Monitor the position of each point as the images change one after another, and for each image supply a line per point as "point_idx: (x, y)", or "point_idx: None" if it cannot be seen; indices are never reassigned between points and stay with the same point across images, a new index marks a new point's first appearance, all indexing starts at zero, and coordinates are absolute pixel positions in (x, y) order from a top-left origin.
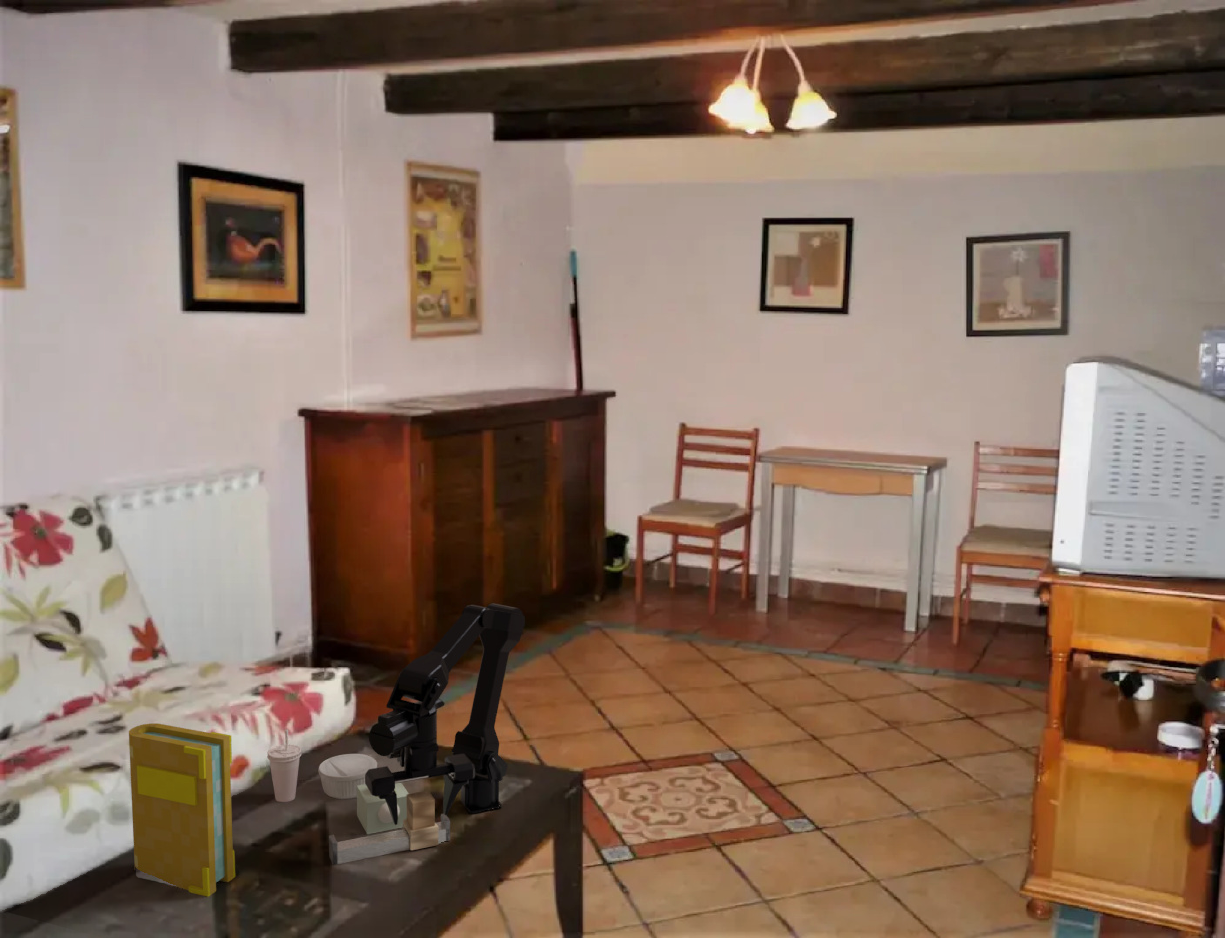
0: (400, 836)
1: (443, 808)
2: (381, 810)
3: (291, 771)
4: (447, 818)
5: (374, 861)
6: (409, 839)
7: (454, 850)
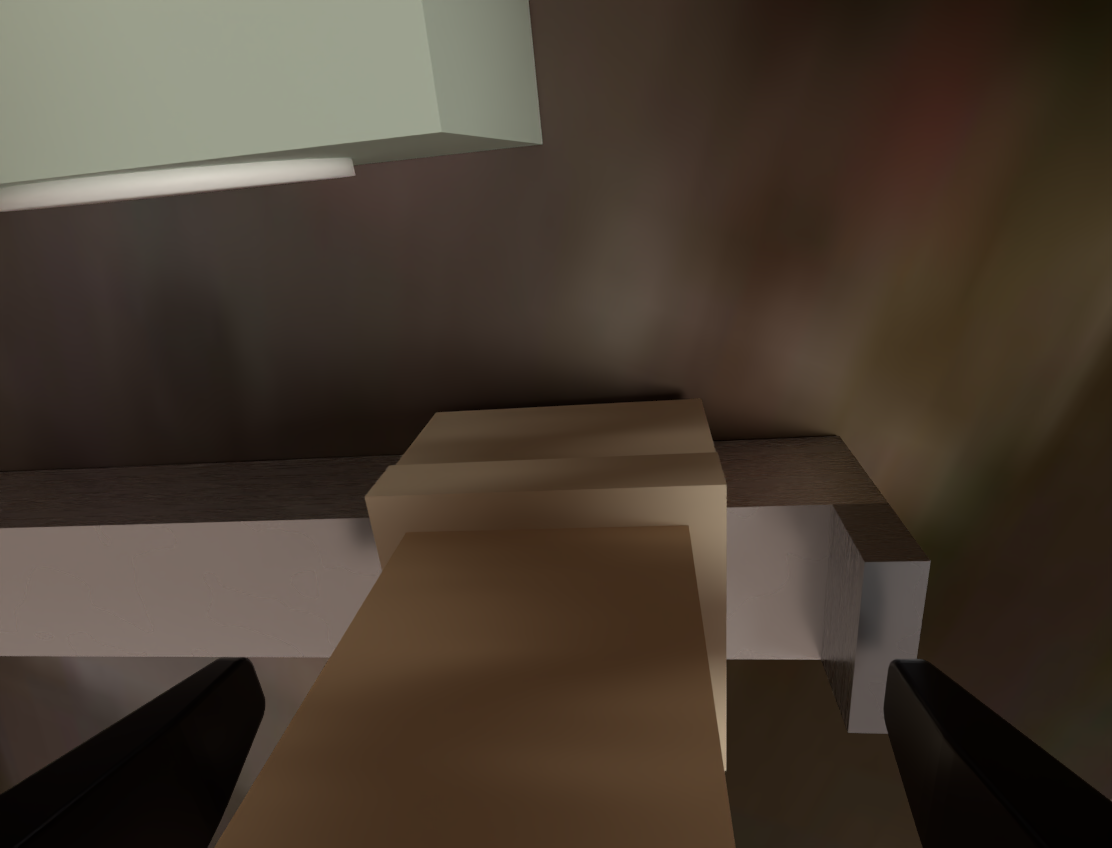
0: None
1: (916, 718)
2: (46, 207)
3: None
4: None
5: None
6: None
7: (804, 699)
